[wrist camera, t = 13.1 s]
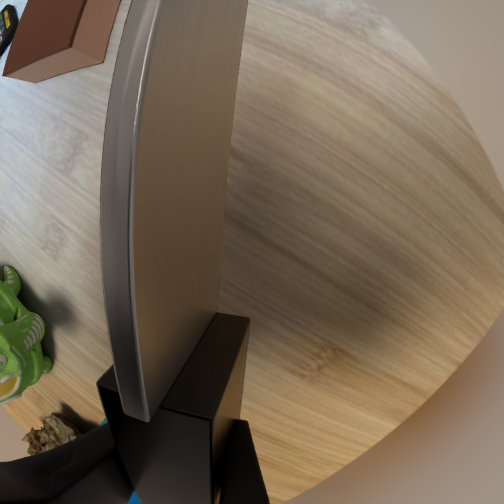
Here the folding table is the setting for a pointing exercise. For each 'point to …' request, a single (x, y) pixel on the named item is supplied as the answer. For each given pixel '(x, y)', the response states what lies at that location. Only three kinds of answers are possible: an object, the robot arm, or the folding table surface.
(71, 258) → the folding table surface
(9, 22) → the smartphone
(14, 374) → the turtle holder
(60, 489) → the robot arm
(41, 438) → the mineral specimen
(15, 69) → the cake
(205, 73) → the knife
